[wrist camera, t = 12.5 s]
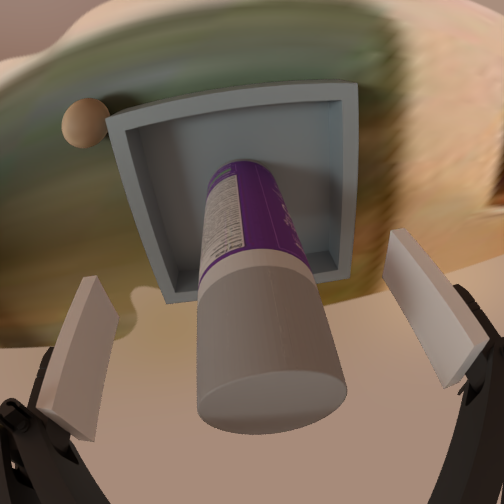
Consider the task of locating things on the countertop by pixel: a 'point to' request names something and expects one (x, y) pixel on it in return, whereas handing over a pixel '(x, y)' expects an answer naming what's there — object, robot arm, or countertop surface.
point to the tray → (241, 147)
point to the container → (259, 313)
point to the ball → (85, 123)
